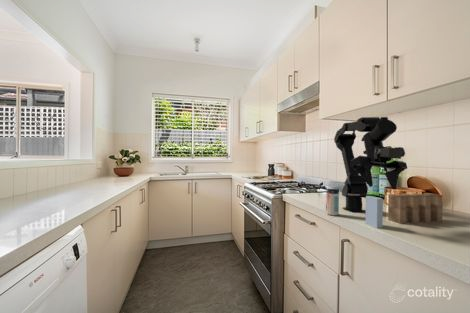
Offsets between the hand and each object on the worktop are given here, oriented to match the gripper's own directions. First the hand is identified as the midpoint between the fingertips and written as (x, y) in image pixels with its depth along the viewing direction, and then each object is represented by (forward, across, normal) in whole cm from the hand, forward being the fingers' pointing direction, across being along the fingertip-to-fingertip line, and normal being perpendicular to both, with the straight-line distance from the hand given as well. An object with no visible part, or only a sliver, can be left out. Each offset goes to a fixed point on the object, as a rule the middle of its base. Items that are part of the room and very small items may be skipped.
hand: (382, 187), depth 74 cm
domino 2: (+9, +18, +9) cm, 22 cm away
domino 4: (+8, +29, +9) cm, 31 cm away
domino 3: (+8, +23, +9) cm, 26 cm away
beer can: (+7, -6, +21) cm, 23 cm away
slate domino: (+12, 0, +7) cm, 14 cm away
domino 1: (+10, +12, +9) cm, 18 cm away
